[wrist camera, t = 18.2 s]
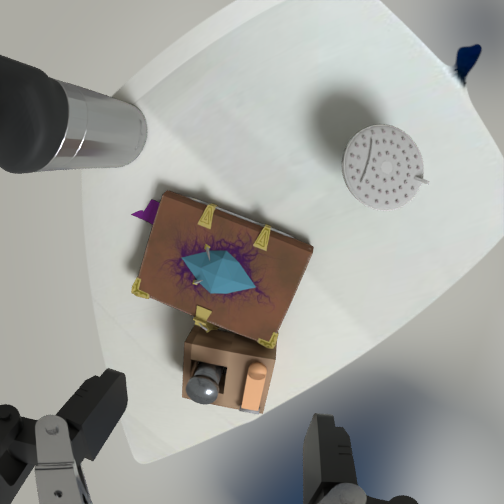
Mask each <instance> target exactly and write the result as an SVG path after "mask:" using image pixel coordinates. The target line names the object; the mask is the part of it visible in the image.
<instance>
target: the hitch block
mask: <svg viewBox="0 0 504 504" xmlns="http://www.w3.org/2000/svg"><path fill="white" fill-rule="evenodd" d="M276 346H277V341H276V345H275V347H274V348H273V349H270V348H266V347H264V346H263V345H261V344H259V343H258V342H257V341H256V340H253V339H250V338H248V337H245V336H242V335H240V334H236V333H230V332H225V331H220V330H210V331H209V332H208V333H207V332H206V330H205V329H203V328H202V327H200V326H196V325H194V327H193V329H192V330H191V332H190V334H189V336H188V337H187V339H186V341H185V343H184V363H183V387H182V397H183V398H187V399H190V398H189V396H188V395H187V393H186V385H187V383H188V381H189V379H190V378H191V377H192V376H194V374H195V372H196V370H197V368H198V361H201V362H206V363H210V364H215V365H220V366H225V367H227V373H222V375H221V378H220V381H219V384H218V386H219V393H218V396H217V399H216V400H215V401H214V402H213V403H210V404H213V405H218V406H223V407H228V408H233V409H240V404H241V405H242V401H243V396H244V390H245V385H246V380H247V374H248V369H249V366H250V365H251V364H252V363H255V362H260V363H262V364H264V365H265V366H266V368H267V373H266V378H265V383H264V387H263V392H262V396H261V401H260V405H259V408H260V411H259V413H262V414H263V411H264V406H265V402H266V398H267V394H268V390H269V386H270V381H271V377H272V373H273V369H274V364H275V360H276ZM191 400H192V399H191Z"/></svg>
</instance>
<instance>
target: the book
mask: <svg viewBox="0 0 504 504" xmlns="http://www.w3.org/2000/svg"><path fill="white" fill-rule="evenodd" d="M187 197H188V196H186V197H185V196H182V195H179V194H177V193H174V192H171V191H168V190H167V191H166V192H165V193H164V194H163V195H162V198H161V201H160V203H159V202H157V201H155V200H152V199H151V201H150V203H149V204H148V206H147V208H146V209H145V210H144V212H143V210H139V211H137V212H135V213H133V214H131V215H133V216H136V217H138V218H140V219H143V220H145V221H147V222H149V223H151V224H153V226H152V230H151V233H150V236H149V240H148V243H147V247H146V250H145V254H144V257H143V261H142V264H141V268H140V272H139V276H138V277H137V278H136V280H135V282H134V284H133V286H132V291H131V293H133V294H134V295H136V296H138V297H142V298H146V299H149V298H152V299H155V300H157V301H159V302H161V303H164V304H166V305H168V306H171V307H173V308H175V309H178V310H180V311H182V312H185V313H187V314H190V315H192V316H194V318H193V320H194V321H195V325H198V326H200V327H202V328H203V329H205V330H206V332H207V333H208V332H209V331H210V330H217V329H218V328H220V327H222V328H224V329H227V330H229V331H232V332H235V333H237V334H240V335H242V336H245V337H248V338H250V339H253V340H256V341H257V342H258V343H259V344H261V345H263V346H264V347H266V348H270V349H273V348H274V347H275V345H276V341H277V337H278V330H279V328H280V326H281V324H282V321H283V319H284V317H285V315H286V313H287V310H288V308H289V306H290V304H291V302H292V299H293V297H294V295H295V293H296V290H297V288H298V286H299V284H300V281H301V279H302V277H303V274H304V272H305V270H306V267H307V265H308V263H309V260H310V258H311V256H312V253H313V248H314V247H313V246H311V245H309V244H307V243H304V242H302V241H299V240H297V239H296V238H295V239H294V237H292V236H290V235H288V234H286V233H284V232H281V231H279V230H276V229H274V228H271V226H270V225H267V224H265V225H264V224H261V223H258V222H256V221H253V220H251V219H248V218H246V217H243V216H240V215H238V214H235V213H232V212H230V211H227V210H225V209H222V208H219V207H218V205H215V204H213V203H212V204H209V203H206V202H203V201H201V200H198V199H195V198H192V197H188V198H187ZM291 237H292V238H291Z"/></svg>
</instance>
